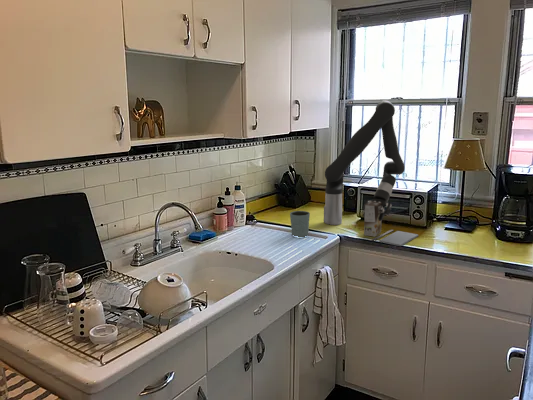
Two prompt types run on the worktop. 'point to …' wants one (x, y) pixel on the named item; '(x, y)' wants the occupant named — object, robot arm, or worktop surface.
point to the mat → (399, 238)
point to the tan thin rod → (382, 235)
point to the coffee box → (372, 219)
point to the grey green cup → (300, 223)
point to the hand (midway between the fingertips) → (372, 218)
